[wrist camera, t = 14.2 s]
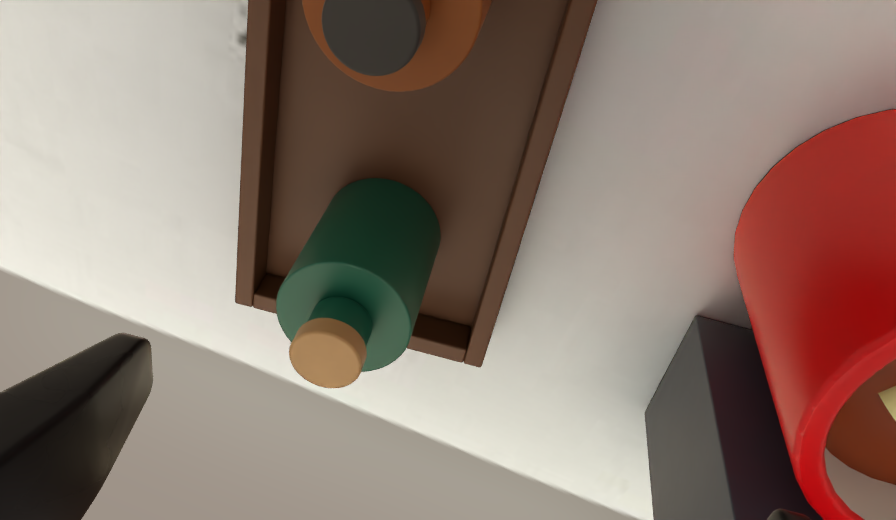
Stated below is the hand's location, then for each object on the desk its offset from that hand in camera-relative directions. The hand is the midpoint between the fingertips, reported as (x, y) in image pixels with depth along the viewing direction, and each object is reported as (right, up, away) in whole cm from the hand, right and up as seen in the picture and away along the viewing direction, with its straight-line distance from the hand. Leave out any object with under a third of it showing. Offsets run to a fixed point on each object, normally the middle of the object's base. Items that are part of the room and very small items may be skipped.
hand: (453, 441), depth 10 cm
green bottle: (-2, +3, +12) cm, 13 cm away
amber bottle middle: (0, +10, +8) cm, 13 cm away
